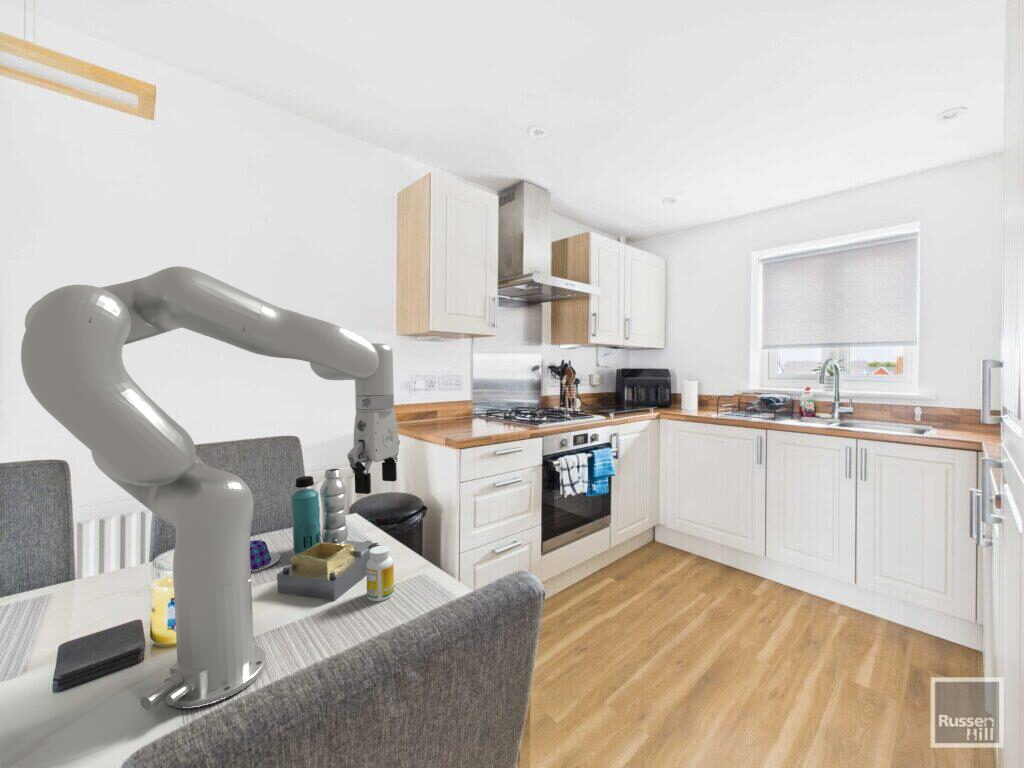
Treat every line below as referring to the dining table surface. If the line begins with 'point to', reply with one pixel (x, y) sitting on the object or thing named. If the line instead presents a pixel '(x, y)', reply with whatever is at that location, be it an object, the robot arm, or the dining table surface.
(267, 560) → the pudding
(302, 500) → the beverage bottle
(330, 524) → the plastic bottle
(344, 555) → the grey tray with box
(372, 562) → the supplement bottle
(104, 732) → the dining table surface
